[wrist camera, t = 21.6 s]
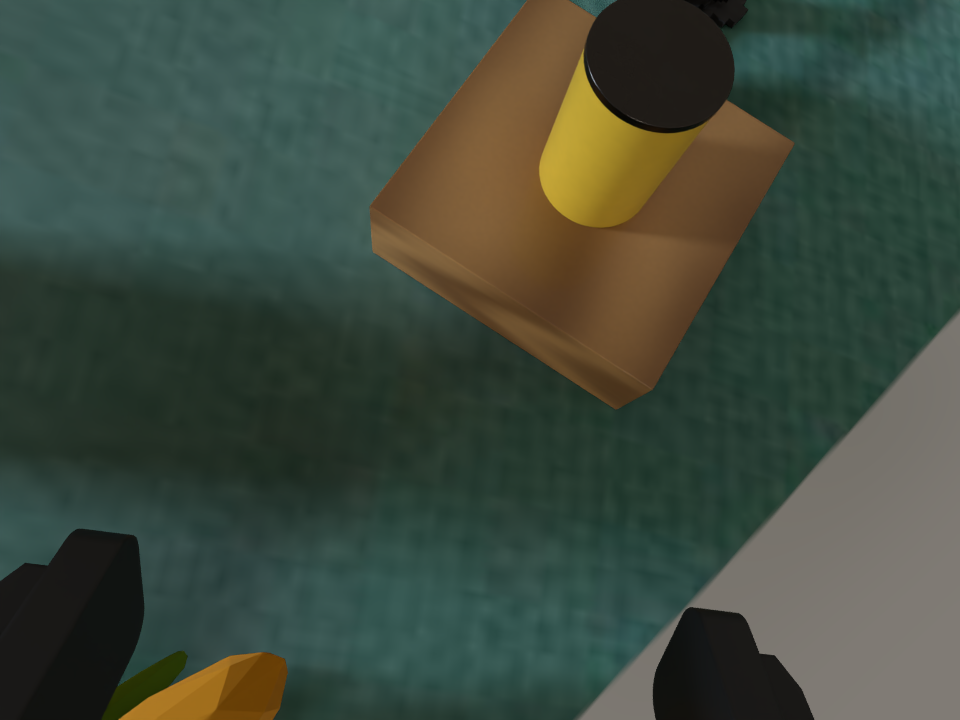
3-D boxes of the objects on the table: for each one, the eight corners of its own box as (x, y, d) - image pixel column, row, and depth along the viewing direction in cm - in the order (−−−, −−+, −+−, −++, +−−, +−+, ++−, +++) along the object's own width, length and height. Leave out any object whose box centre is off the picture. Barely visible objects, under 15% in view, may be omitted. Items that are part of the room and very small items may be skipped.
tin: (514, 173, 31) (554, 53, 23) (588, 102, 32) (651, -35, 24) (601, 252, 30) (672, 157, 23) (673, 176, 32) (764, 62, 24)
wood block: (372, 251, 35) (369, 206, 30) (522, 51, 38) (540, -19, 33) (616, 410, 34) (652, 390, 29) (744, 192, 38) (795, 142, 33)
